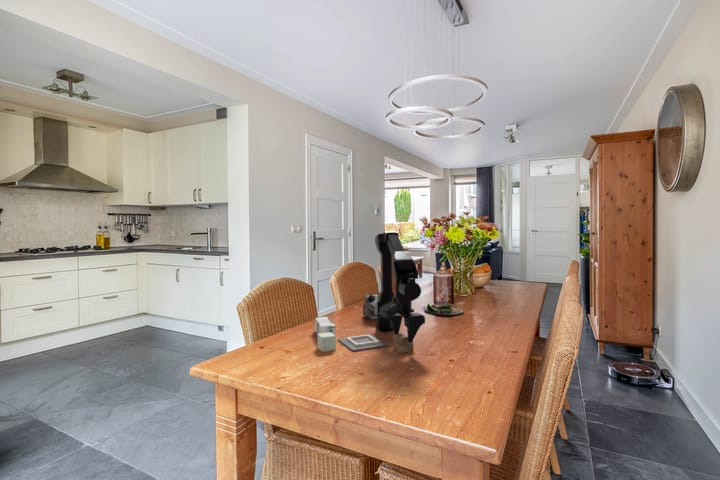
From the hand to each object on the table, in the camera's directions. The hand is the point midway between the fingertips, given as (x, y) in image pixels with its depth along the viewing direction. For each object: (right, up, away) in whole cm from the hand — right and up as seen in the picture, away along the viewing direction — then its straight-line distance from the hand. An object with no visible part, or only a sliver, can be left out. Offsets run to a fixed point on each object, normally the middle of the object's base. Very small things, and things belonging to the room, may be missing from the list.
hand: (403, 338), depth 131 cm
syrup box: (-31, 0, +23) cm, 38 cm away
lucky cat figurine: (-6, -2, +45) cm, 45 cm away
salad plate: (+26, -2, +55) cm, 60 cm away
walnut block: (0, -4, 0) cm, 4 cm away
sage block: (-27, -4, +1) cm, 27 cm away
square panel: (-14, -3, +7) cm, 16 cm away
